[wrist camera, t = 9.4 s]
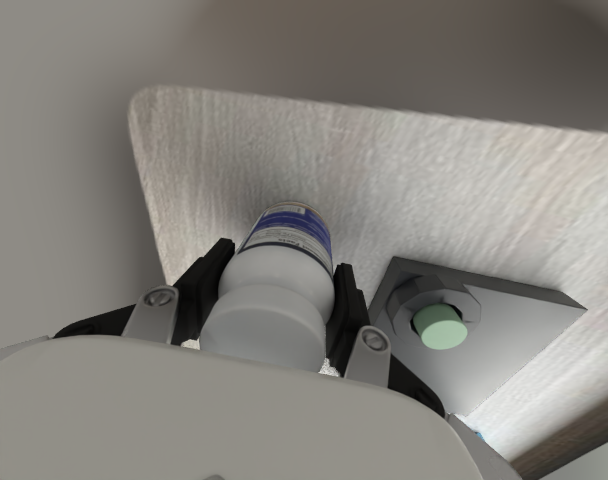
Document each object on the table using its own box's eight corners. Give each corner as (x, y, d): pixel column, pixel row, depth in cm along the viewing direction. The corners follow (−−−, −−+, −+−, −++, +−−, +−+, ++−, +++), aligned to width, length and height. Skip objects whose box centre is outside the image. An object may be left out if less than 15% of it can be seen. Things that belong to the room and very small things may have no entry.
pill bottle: (297, 277, 19) (274, 414, 10) (242, 237, 17) (156, 354, 8) (346, 233, 16) (374, 358, 7) (287, 181, 15) (235, 263, 6)
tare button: (423, 298, 15) (433, 316, 13) (462, 306, 15) (477, 325, 13) (406, 326, 16) (414, 345, 15) (442, 333, 16) (453, 353, 15)
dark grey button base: (395, 252, 17) (411, 281, 14) (566, 288, 17) (620, 324, 14) (338, 373, 24) (340, 409, 21) (457, 396, 25) (476, 435, 22)
